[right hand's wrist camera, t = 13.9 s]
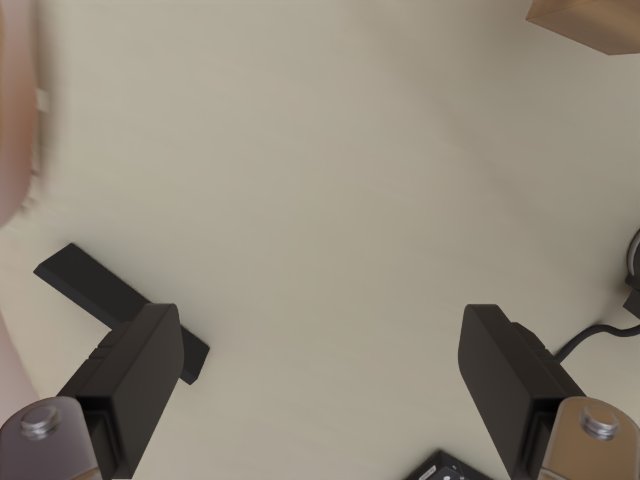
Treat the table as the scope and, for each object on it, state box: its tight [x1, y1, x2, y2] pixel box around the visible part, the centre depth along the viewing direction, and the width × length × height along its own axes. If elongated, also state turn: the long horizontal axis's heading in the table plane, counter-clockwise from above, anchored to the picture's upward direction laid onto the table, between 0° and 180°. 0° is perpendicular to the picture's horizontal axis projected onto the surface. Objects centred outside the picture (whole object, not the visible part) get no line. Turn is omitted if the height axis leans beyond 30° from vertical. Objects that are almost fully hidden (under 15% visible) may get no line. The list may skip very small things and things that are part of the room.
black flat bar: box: [33, 243, 210, 385], centre depth 40 cm, size 18×1×5 cm, turn 45°
